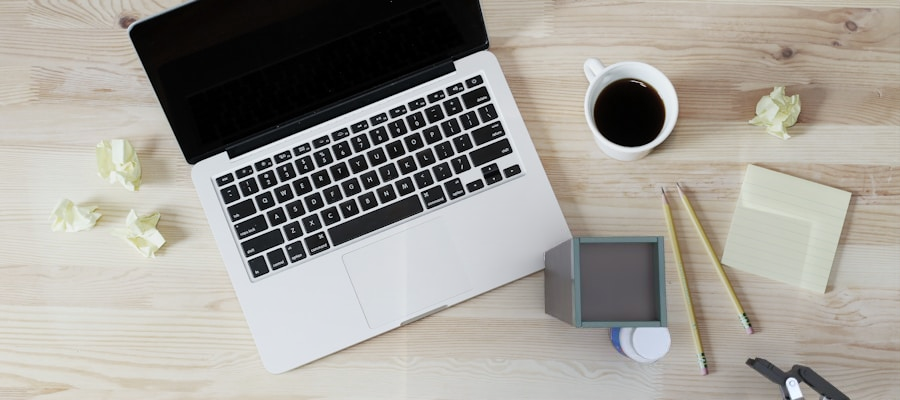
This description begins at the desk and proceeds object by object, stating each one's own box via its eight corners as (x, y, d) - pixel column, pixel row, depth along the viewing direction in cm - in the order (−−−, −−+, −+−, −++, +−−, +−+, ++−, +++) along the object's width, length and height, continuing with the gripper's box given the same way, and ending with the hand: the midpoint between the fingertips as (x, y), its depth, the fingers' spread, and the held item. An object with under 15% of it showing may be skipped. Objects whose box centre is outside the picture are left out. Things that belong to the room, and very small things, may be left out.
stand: (606, 313, 87) (661, 325, 60) (544, 313, 87) (572, 326, 61) (604, 251, 88) (658, 237, 61) (543, 252, 88) (570, 238, 61)
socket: (661, 325, 60) (667, 327, 58) (572, 326, 61) (575, 327, 59) (658, 237, 61) (663, 236, 59) (570, 238, 61) (573, 236, 59)
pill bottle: (604, 350, 87) (619, 359, 77) (613, 305, 87) (630, 308, 78) (650, 362, 86) (671, 372, 77) (659, 316, 87) (682, 320, 77)
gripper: (918, 436, 74) (777, 341, 75) (841, 557, 73) (700, 459, 75) (878, 422, 81) (750, 336, 83) (808, 532, 80) (681, 443, 82)
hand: (727, 394), depth 79 cm, fingers open, 8 cm apart
